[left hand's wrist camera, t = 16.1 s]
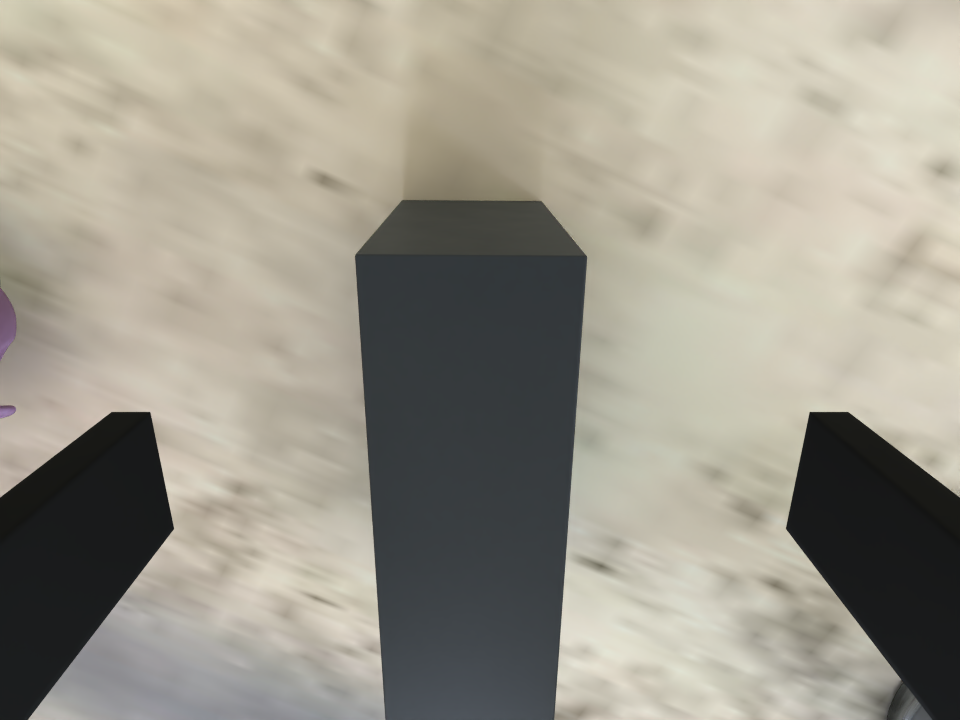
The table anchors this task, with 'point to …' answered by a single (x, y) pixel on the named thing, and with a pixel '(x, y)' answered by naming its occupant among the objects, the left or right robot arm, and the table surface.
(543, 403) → the box
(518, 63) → the table surface
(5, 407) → the toy character
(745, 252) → the table surface
